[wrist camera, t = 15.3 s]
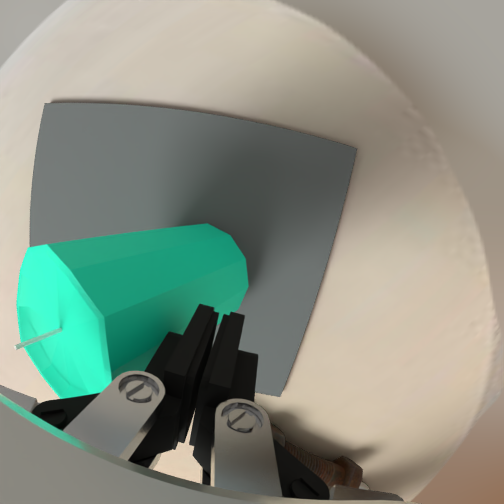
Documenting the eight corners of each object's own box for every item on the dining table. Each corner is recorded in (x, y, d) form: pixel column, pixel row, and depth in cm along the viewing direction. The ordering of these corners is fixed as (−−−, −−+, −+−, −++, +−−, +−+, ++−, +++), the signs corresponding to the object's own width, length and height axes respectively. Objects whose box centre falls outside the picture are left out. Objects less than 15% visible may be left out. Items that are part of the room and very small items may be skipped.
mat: (354, 149, 17) (357, 148, 16) (280, 392, 22) (280, 397, 21) (49, 104, 17) (44, 103, 16) (38, 315, 22) (34, 317, 21)
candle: (181, 329, 19) (27, 421, 8) (149, 242, 19) (-27, 277, 8) (264, 309, 17) (107, 448, 6) (227, 207, 17) (17, 215, 5)
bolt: (228, 388, 24) (344, 453, 25) (194, 430, 23) (314, 488, 24) (240, 411, 19) (373, 476, 20) (198, 461, 17) (338, 515, 18)
